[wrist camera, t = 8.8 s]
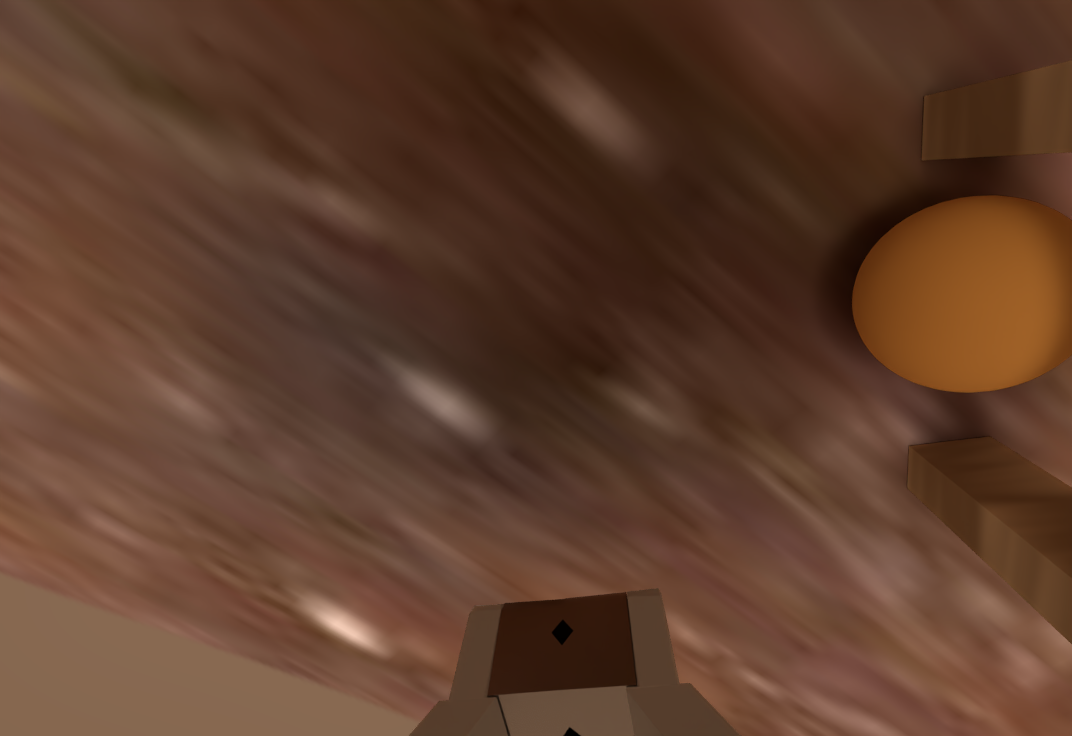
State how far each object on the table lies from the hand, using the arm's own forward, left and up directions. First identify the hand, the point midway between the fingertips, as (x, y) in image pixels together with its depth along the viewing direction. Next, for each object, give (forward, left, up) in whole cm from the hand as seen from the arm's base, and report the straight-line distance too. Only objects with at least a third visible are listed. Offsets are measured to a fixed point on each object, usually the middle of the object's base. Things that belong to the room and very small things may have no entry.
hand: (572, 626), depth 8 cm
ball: (-1, +12, -11) cm, 16 cm away
